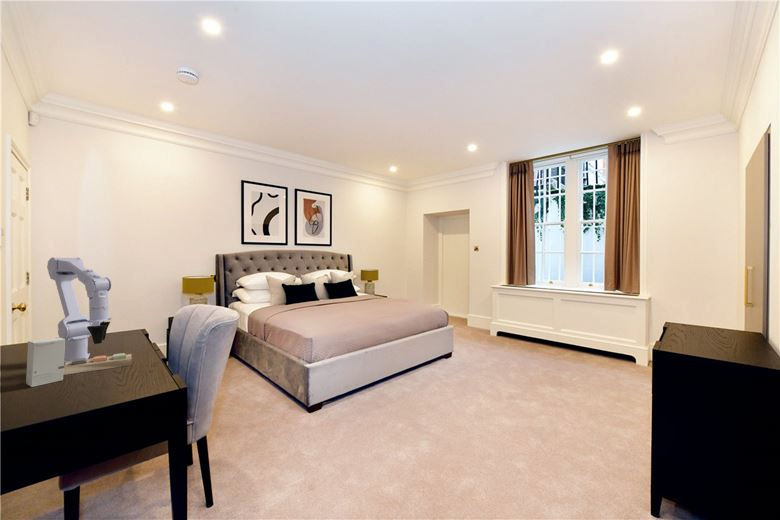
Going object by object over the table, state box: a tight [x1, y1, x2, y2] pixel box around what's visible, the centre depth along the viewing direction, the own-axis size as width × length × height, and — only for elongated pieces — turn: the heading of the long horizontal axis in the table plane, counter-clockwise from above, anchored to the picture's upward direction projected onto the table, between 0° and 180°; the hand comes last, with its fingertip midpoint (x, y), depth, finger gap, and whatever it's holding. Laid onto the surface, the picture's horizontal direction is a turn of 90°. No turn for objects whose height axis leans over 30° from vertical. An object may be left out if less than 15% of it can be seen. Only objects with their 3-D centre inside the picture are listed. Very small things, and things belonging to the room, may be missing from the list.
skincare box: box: [25, 336, 65, 388], centre depth 115 cm, size 8×6×15 cm
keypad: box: [63, 353, 132, 376], centre depth 131 cm, size 9×20×2 cm, turn 128°
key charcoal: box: [72, 358, 86, 365], centre depth 127 cm, size 4×4×2 cm
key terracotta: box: [93, 355, 107, 363], centre depth 131 cm, size 4×4×2 cm
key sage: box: [112, 352, 126, 360], centre depth 135 cm, size 4×4×2 cm
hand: (99, 341), depth 132 cm, fingers open, 7 cm apart
